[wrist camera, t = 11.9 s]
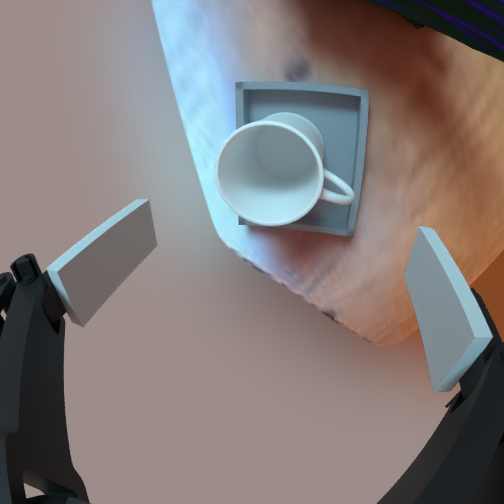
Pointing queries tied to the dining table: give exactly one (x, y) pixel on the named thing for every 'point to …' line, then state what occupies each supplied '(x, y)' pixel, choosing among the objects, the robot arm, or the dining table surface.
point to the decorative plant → (457, 20)
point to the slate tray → (333, 134)
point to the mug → (275, 170)
